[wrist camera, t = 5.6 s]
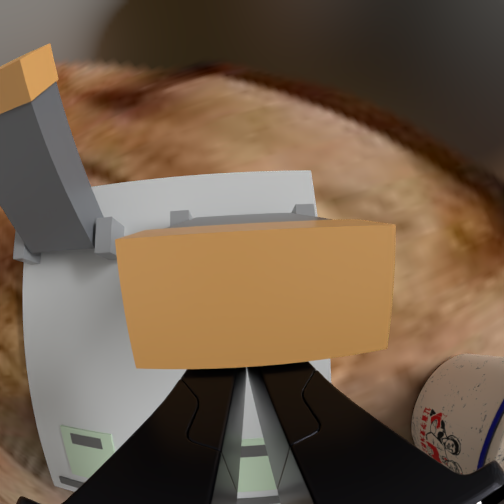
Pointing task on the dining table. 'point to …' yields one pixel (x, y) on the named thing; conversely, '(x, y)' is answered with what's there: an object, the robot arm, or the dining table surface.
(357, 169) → the dining table surface
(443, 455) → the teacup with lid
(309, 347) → the rocker
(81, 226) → the block
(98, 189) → the switch unit
